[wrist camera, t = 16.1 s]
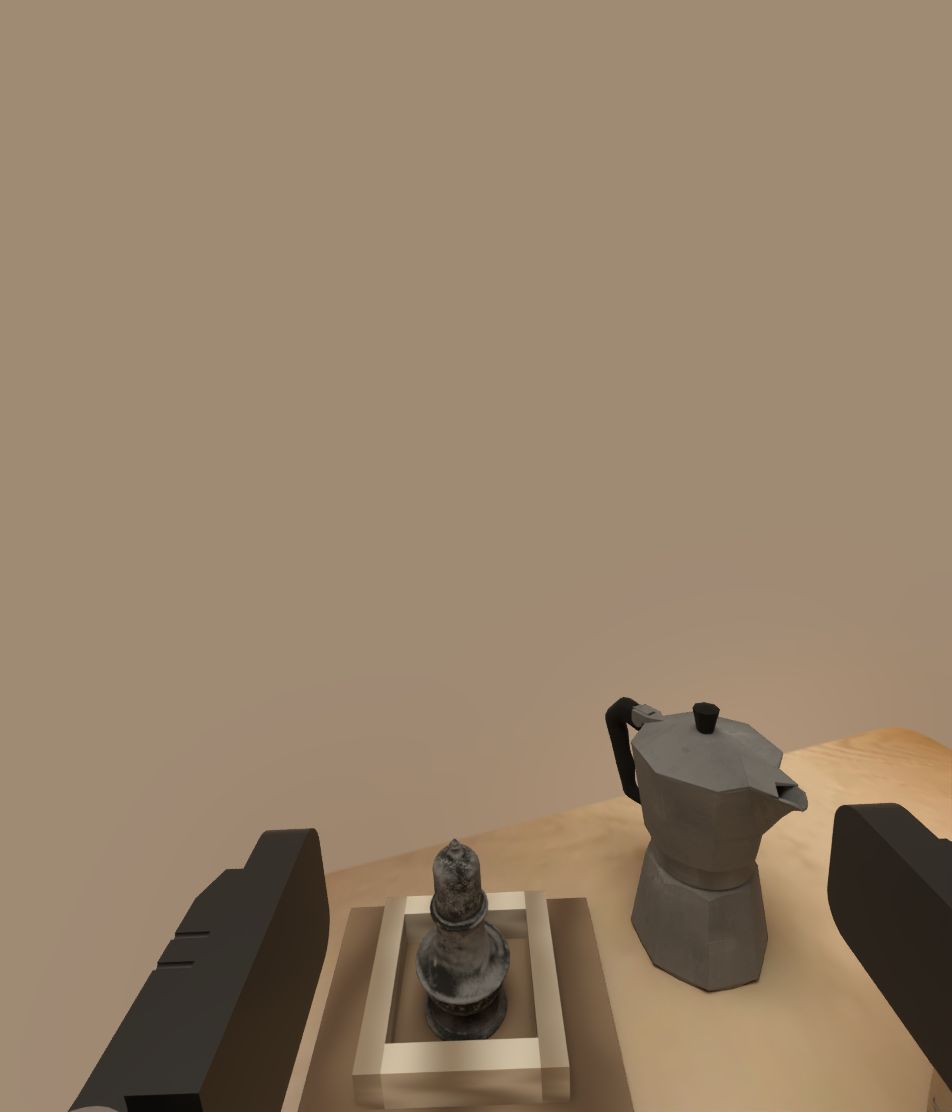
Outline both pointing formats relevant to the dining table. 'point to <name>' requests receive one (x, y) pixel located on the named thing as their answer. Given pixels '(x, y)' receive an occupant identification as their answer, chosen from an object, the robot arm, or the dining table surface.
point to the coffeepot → (701, 837)
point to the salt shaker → (462, 953)
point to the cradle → (473, 1065)
